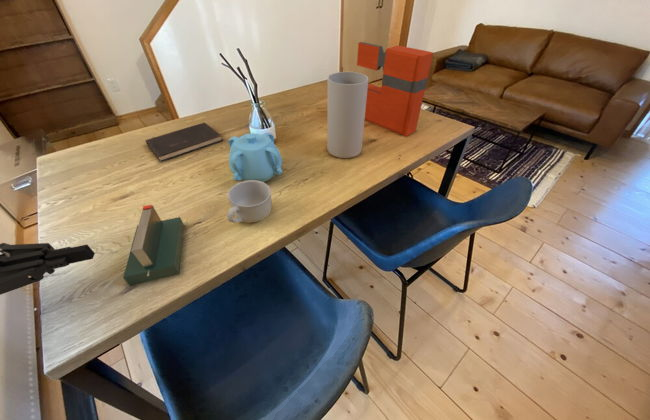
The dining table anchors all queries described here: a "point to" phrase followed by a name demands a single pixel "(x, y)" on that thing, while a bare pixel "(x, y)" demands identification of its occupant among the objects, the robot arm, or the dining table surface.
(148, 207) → the red-tipped metal bar
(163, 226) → the green block
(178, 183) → the dining table surface
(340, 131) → the cylinder vase
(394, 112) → the clamp
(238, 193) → the teacup
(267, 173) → the decorative pot
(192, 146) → the hardcover book
